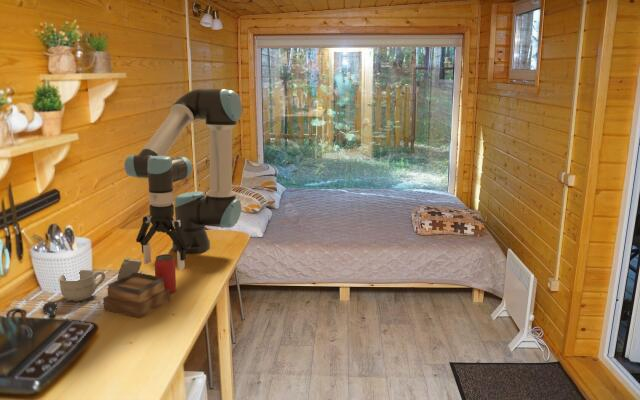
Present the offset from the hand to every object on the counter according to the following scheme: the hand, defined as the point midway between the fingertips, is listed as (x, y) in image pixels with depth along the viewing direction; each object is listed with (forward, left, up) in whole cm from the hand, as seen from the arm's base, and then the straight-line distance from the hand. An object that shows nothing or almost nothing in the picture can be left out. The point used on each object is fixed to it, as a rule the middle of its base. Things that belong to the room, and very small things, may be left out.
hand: (164, 266), depth 184 cm
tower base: (+13, -1, -9) cm, 15 cm away
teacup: (+15, -21, -9) cm, 27 cm away
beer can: (0, 0, -9) cm, 9 cm away
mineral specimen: (-2, -17, -9) cm, 20 cm away
